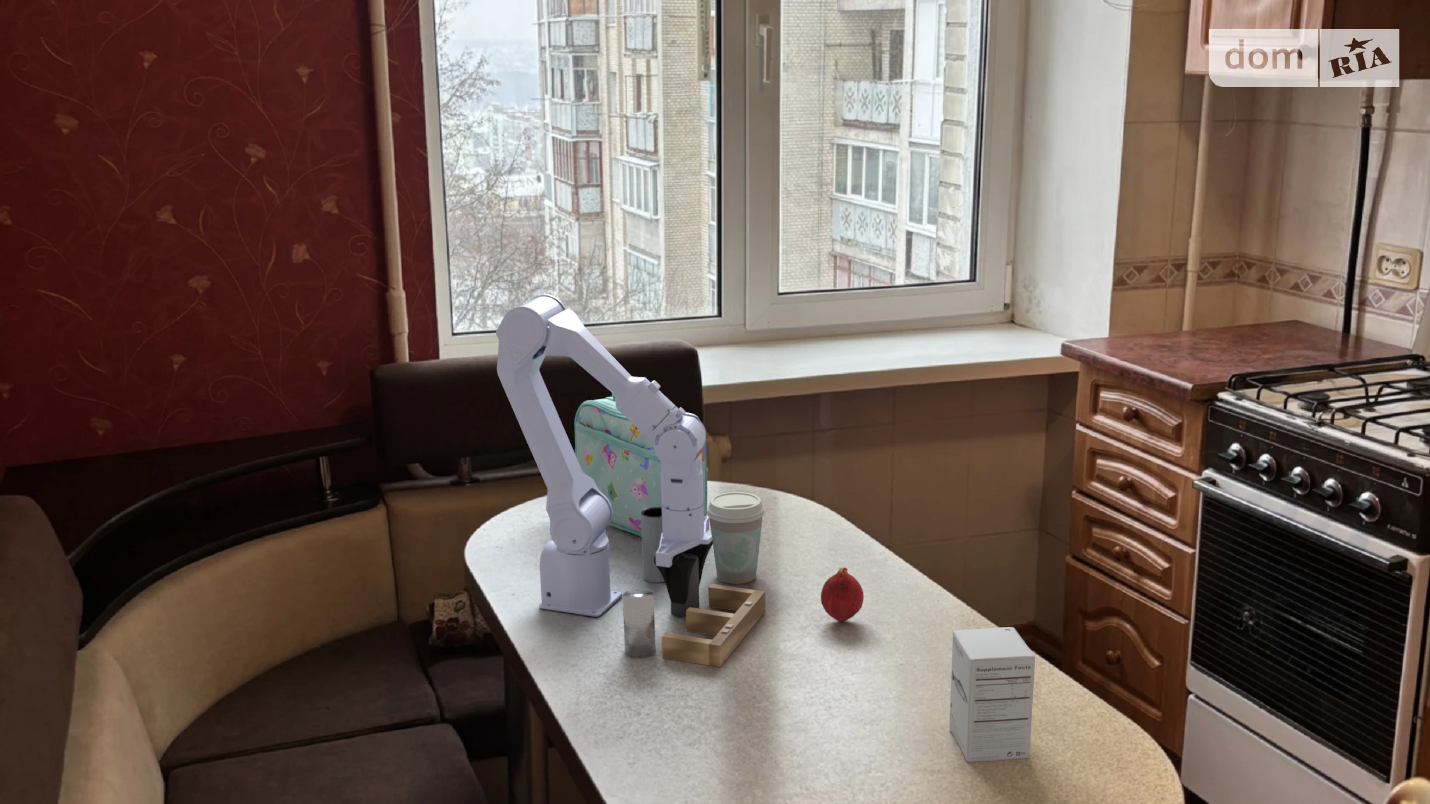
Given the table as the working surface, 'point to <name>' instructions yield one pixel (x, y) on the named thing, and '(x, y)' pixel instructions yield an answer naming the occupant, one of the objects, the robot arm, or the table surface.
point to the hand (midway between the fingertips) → (684, 595)
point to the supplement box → (991, 694)
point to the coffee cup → (736, 535)
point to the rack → (716, 626)
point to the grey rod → (639, 623)
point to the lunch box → (621, 462)
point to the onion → (842, 596)
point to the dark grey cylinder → (689, 591)
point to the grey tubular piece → (651, 542)
